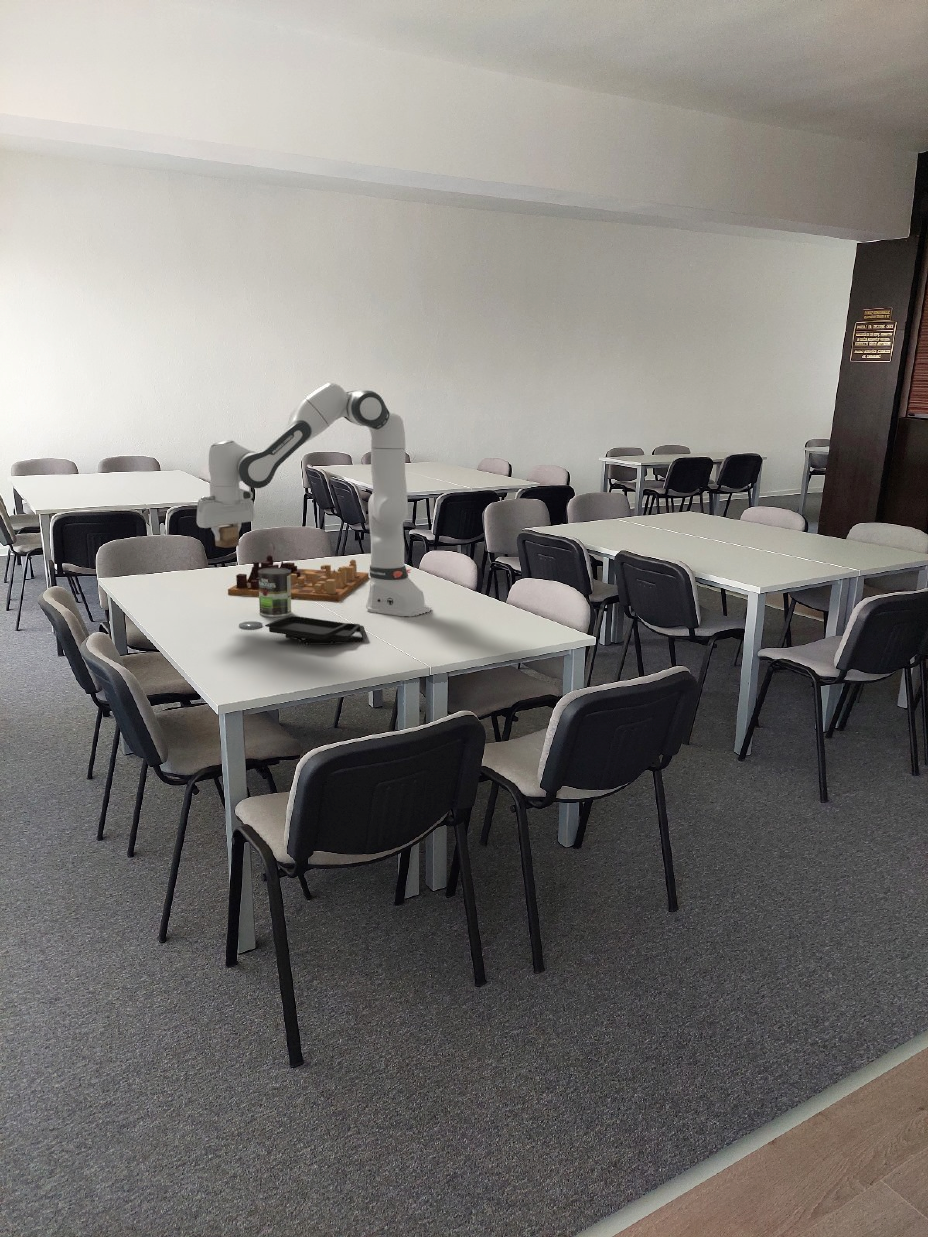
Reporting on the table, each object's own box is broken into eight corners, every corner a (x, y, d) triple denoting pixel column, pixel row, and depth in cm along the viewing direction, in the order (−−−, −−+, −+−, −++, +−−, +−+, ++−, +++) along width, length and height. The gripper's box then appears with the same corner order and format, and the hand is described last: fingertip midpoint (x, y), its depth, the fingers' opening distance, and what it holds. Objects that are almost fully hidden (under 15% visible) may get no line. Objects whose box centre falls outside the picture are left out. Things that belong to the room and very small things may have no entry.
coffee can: (278, 618, 283) (276, 575, 279) (252, 614, 287) (251, 571, 284) (298, 612, 292) (297, 569, 288) (273, 607, 296) (272, 566, 293)
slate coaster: (267, 627, 274) (267, 624, 274) (249, 631, 269) (249, 628, 269) (251, 623, 278) (251, 620, 278) (234, 627, 273) (233, 624, 272)
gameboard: (338, 603, 307) (338, 577, 305) (228, 596, 313) (227, 570, 310) (368, 579, 345) (368, 556, 343) (269, 573, 351) (269, 550, 349)
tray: (358, 626, 277) (358, 610, 275) (379, 647, 256) (379, 629, 255) (260, 634, 266) (259, 617, 265) (274, 656, 245) (273, 638, 244)
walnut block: (238, 545, 279) (238, 526, 278) (226, 547, 275) (225, 528, 274) (228, 543, 282) (227, 524, 280) (215, 545, 278) (214, 526, 276)
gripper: (204, 498, 265) (206, 544, 268) (256, 492, 281) (258, 536, 284) (190, 496, 268) (193, 542, 272) (243, 490, 284) (245, 533, 288)
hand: (227, 538), depth 278 cm, fingers closed on walnut block, 5 cm apart
